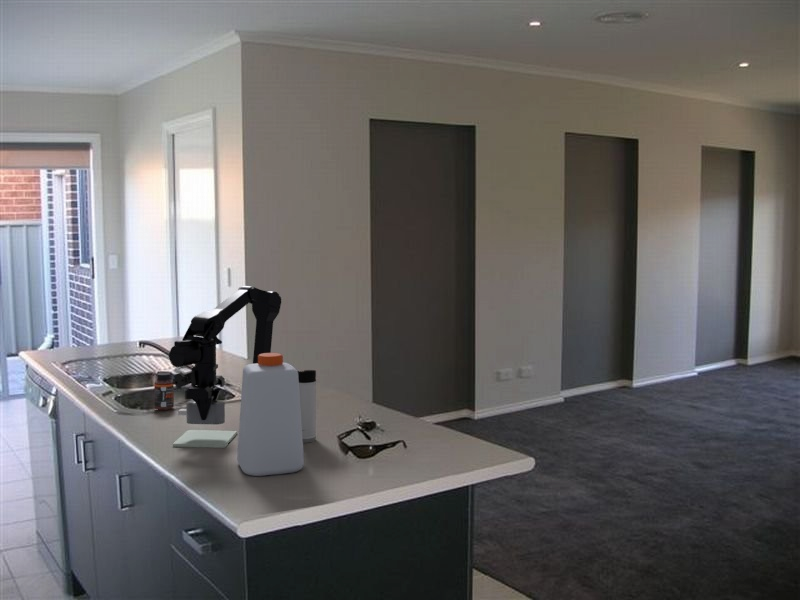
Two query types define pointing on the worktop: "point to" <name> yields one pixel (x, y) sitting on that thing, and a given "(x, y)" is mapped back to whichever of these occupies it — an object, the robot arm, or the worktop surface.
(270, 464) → the plastic bottle
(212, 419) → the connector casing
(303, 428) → the travel mug
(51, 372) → the worktop surface
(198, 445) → the sage board
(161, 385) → the supplement bottle
